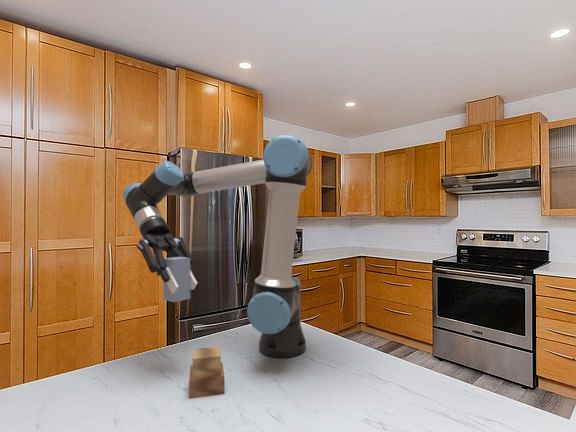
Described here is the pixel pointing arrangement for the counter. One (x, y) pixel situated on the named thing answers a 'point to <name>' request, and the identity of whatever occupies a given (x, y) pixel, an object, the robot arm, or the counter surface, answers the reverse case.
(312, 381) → the counter surface
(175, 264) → the slate block
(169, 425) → the counter surface
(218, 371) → the tower top
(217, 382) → the tower base
